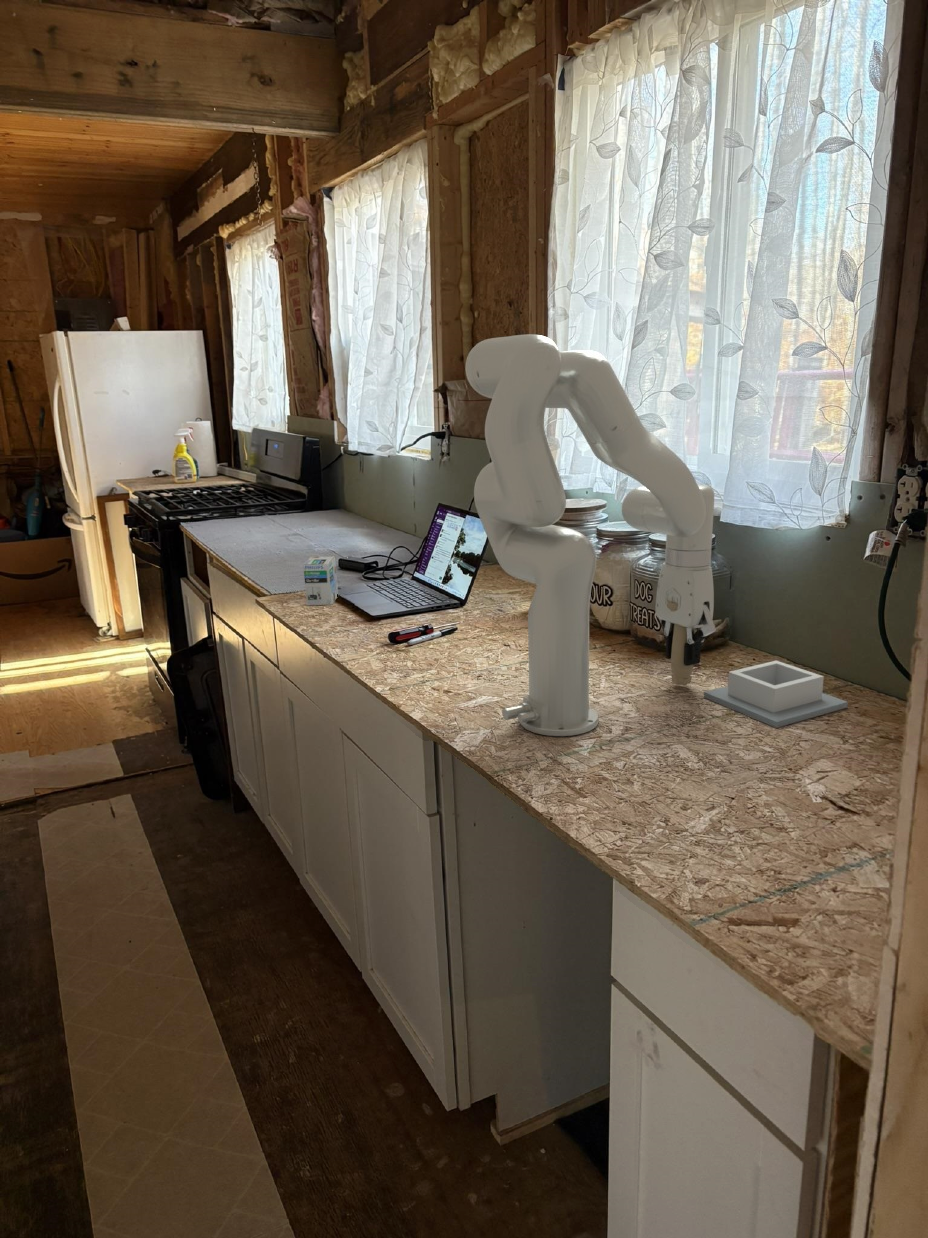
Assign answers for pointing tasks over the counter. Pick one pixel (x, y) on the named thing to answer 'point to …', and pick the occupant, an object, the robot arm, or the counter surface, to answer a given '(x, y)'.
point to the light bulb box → (320, 580)
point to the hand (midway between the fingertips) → (682, 659)
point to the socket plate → (776, 694)
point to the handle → (679, 653)
